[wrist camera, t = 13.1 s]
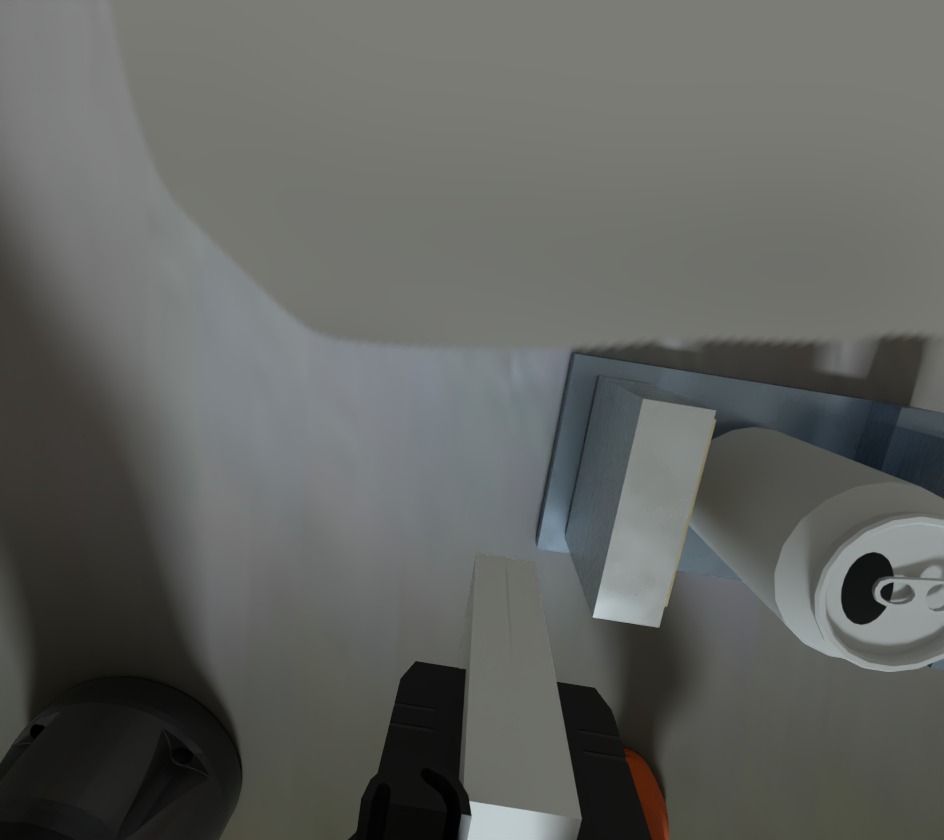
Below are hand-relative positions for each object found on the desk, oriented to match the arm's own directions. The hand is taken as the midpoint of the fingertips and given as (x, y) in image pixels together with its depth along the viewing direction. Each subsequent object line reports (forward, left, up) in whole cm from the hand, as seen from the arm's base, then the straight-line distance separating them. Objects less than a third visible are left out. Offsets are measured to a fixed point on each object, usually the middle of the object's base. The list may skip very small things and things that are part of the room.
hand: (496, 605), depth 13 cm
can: (+15, 0, -17) cm, 22 cm away
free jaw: (+7, 0, -16) cm, 18 cm away
